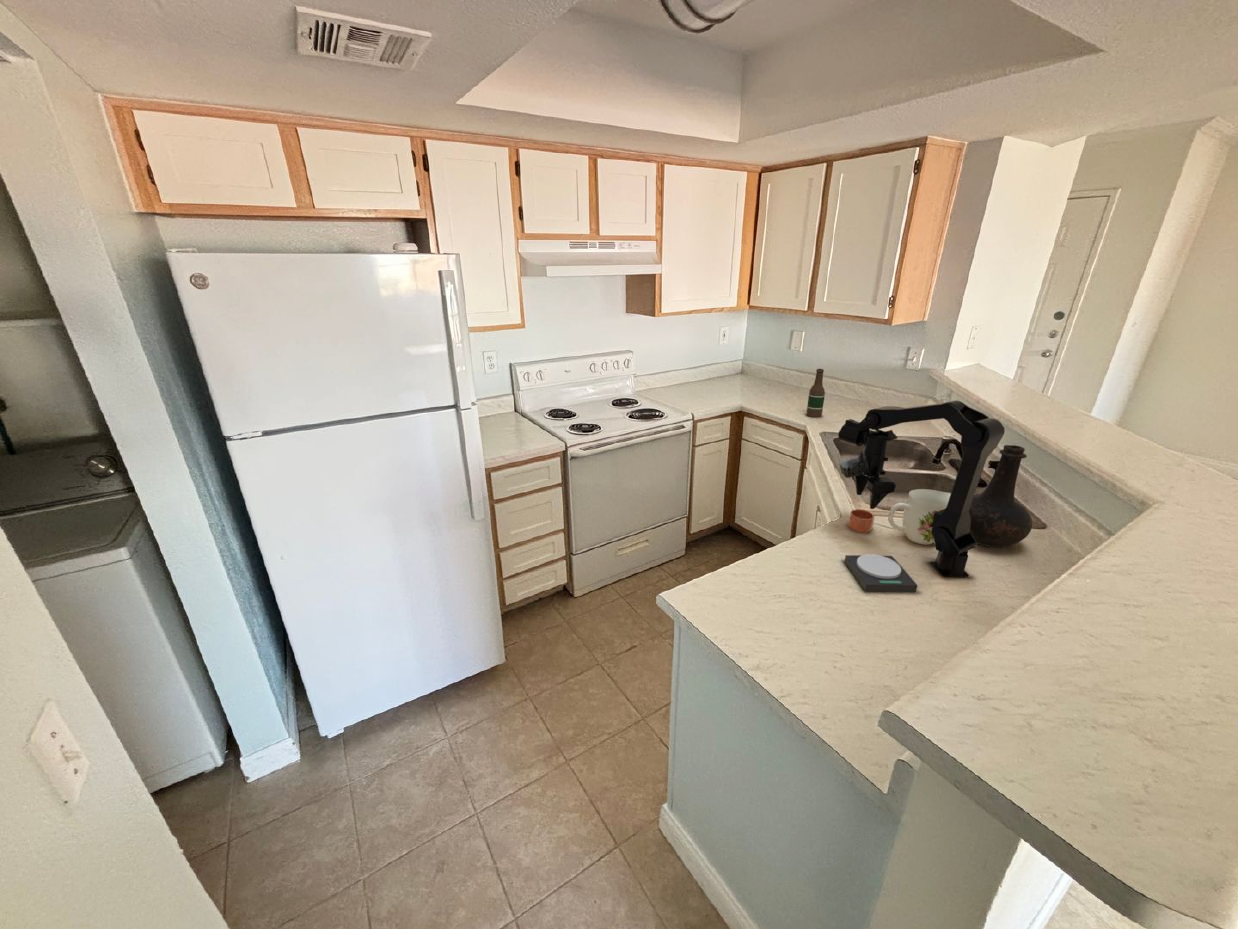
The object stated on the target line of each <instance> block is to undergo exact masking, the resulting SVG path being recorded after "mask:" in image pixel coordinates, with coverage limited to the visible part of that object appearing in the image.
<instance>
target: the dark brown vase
mask: <svg viewBox="0 0 1238 929" xmlns="http://www.w3.org/2000/svg"><path fill="white" fill-rule="evenodd" d="M1025 451H1026V449H1025V447H1023V446H1021V445H1015V444H1011V445H1010V444H1004V446H1003V449H1000V450H999V454H1001V455H1000V458H999V461H998V463H997V466H996V469H995V470H994V472H993V475H992V477H991V480H989V483H988V484H987V485H986V487H985V489H984V490H983V491H981V493H977V494H976V493H975V494H974V497H973V500H972V503H971V506H970V509H969V514H970V518H971V525H970V532H971V533H972V535H973V536H974V538H975V540H976V541H977V543H978V544H979V545H981V546H984V547H985V546H986V547H989V548H1007V547H1011V546H1013V545H1016V544H1018V543H1020V542H1022V541H1023V540H1025V539H1026V538H1027V537H1028V536H1029V534H1030V533H1031V531H1032V528H1033V519H1032V516H1031V515H1030V513H1029V512H1028V510H1027V509H1026V508H1025V507H1024V506H1022V504H1020V503H1019V502H1017V501H1016V500H1015V492H1016V491H1015V490H1016V483H1017V479H1018V474H1019V470H1020V467H1021V462H1022V459H1026V458H1027V457H1028V456H1027V454H1026V453H1025Z"/></svg>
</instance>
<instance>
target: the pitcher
mask: <svg viewBox="0 0 1238 929" xmlns="http://www.w3.org/2000/svg"><path fill="white" fill-rule="evenodd" d="M950 495H951V492H945V491H940V490H936V489H926V488H918V489H916V488H915V489H912V490H910V491H909V492H908V502H907V503H904V502H897V503H895V504H894V505H892V506H891V508H890V509H889V512H888V515H887V520H888V524H889V525H890V526H891V527H892V528H893V529H894V530H896V531H899V532H902V533H905V535H906V538H908V540H910V541H911V542H913V543H916V544H919V545H932V544H933V543H935V540H934V537H933V535H932V534H931V529H932V527H930V525H931V524H932V522H933V516H934V513H935V512H938V511H940V510H943V509H945V508H946V507H947V504H948V501H949V498H950ZM901 508H903V512H902V520H901V521H902V525H898V524H897V523H895V520H894V514H895V512H896V511H897V510H898V509H901Z"/></svg>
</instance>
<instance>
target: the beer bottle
mask: <svg viewBox="0 0 1238 929" xmlns="http://www.w3.org/2000/svg"><path fill="white" fill-rule="evenodd" d="M815 371H816V373H815V378H814V382H813V385H812V386H811V387H810V389H809V392H808V398H807V399H808V400H807V405H806V416H807V417H809V418H816V419H817V418H822V415H823V409H824V403H825V394H826V391H825V388H824V386H823V380H824V372H825V370H824V368H817V369H816V370H815Z"/></svg>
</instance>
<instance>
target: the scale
mask: <svg viewBox="0 0 1238 929" xmlns="http://www.w3.org/2000/svg"><path fill="white" fill-rule="evenodd" d="M844 563H845V565H846V566H847V568H848V569H849V571H850V572H851V574H852V575H853V577H854V578H855V579H856V581H857V582H858V584H859V585H860V587H861V588H862V590H863V591H864V592H880V593H881V592H882V593H883V592H884V593H885V592H886V593H888V592H892V593H893V592H894V593H916V592H917V588H918V584H917V583H916V581H914V579H913V578H912V577H911V576H910V575H909V574H908V572H907V571H906V570H905V569H904V568H903V566H902V565H901V564H900V563H899V562H898V561H897V560H896V559H895V557H894V556H893V555H879V554H871V553H867V554H861V555H860V554H859V555H856V554H855V555H854V554H852V555H851V554H845V556H844Z"/></svg>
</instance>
